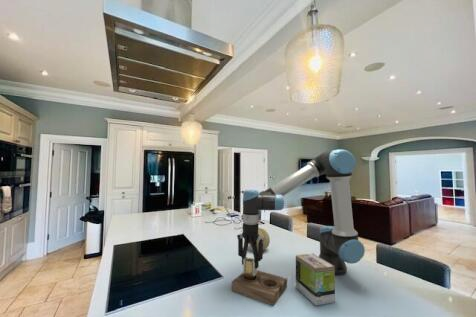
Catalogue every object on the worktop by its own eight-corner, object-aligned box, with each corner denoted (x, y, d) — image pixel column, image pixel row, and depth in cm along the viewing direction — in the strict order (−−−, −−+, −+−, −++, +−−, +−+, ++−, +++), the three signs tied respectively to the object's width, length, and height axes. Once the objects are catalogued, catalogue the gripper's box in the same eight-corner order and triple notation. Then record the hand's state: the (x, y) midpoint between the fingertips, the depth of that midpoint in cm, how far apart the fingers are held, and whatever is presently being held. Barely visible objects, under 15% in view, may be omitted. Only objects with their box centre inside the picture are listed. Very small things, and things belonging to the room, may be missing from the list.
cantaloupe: (267, 255, 136) (267, 231, 137) (245, 252, 141) (245, 229, 142) (271, 248, 150) (271, 226, 151) (251, 245, 155) (251, 224, 156)
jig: (248, 275, 110) (248, 267, 110) (286, 287, 99) (286, 278, 100) (231, 290, 96) (231, 281, 96) (273, 305, 86) (273, 295, 86)
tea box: (336, 302, 88) (335, 265, 89) (315, 306, 86) (314, 268, 86) (313, 284, 103) (313, 252, 104) (294, 287, 100) (294, 254, 101)
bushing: (248, 278, 103) (248, 257, 104) (256, 281, 101) (256, 259, 102) (243, 282, 100) (243, 260, 100) (251, 285, 97) (252, 262, 98)
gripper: (230, 221, 103) (230, 271, 102) (264, 227, 94) (263, 282, 93) (238, 219, 110) (238, 266, 108) (270, 223, 101) (270, 275, 99)
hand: (249, 273), depth 101 cm, fingers closed on bushing, 4 cm apart
